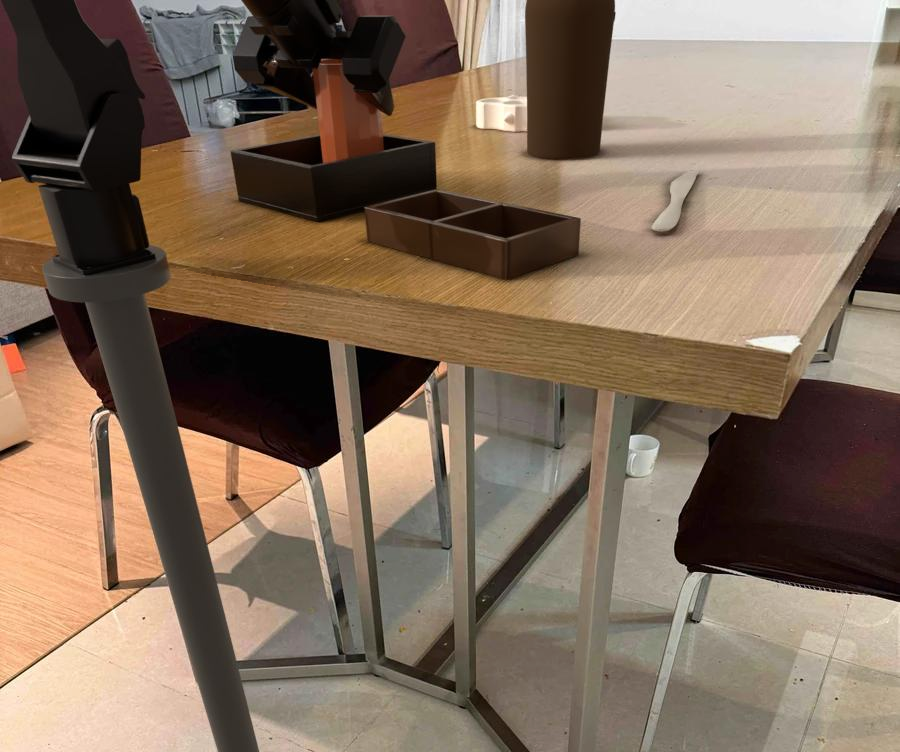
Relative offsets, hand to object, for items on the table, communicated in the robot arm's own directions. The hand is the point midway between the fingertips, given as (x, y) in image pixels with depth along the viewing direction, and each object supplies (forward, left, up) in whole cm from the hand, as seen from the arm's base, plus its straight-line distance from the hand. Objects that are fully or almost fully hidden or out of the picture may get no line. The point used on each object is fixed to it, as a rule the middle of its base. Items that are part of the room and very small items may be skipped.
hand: (357, 109), depth 91 cm
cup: (-1, 0, -7) cm, 7 cm away
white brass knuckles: (+44, +12, -8) cm, 46 cm away
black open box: (-4, -1, -8) cm, 9 cm away
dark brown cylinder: (+30, -5, -8) cm, 31 cm away
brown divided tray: (-9, -27, -8) cm, 29 cm away
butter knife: (+17, -31, -8) cm, 36 cm away
